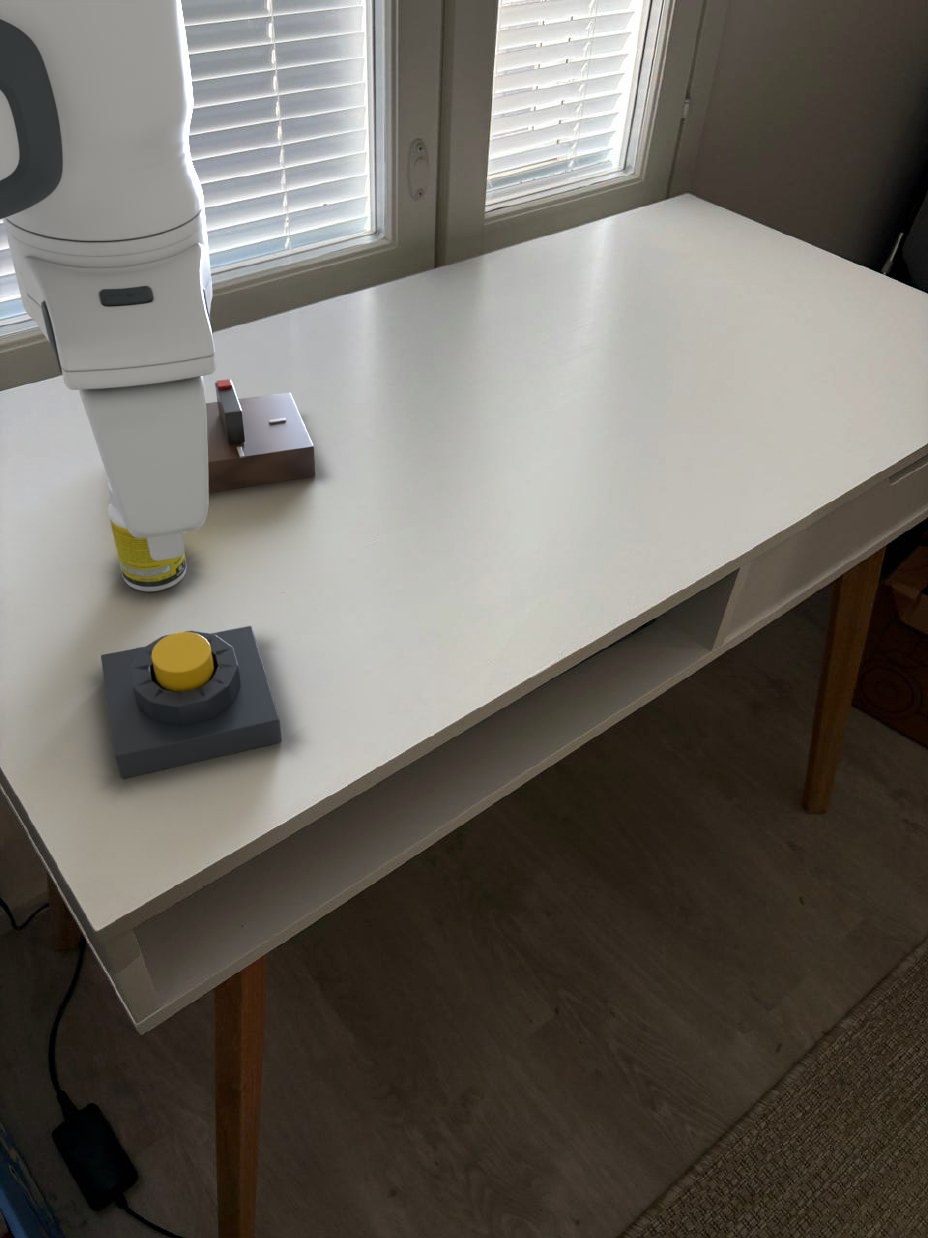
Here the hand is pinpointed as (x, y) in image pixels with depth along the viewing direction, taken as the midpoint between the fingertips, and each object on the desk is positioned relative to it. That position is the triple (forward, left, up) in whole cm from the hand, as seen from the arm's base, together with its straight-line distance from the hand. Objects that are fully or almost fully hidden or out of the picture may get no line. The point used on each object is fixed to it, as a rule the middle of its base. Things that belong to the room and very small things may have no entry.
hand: (153, 500), depth 57 cm
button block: (0, -2, -16) cm, 16 cm away
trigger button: (0, -2, -12) cm, 12 cm away
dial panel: (+8, +26, -16) cm, 31 cm away
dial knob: (+8, +26, -12) cm, 30 cm away
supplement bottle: (-1, +12, -16) cm, 20 cm away
